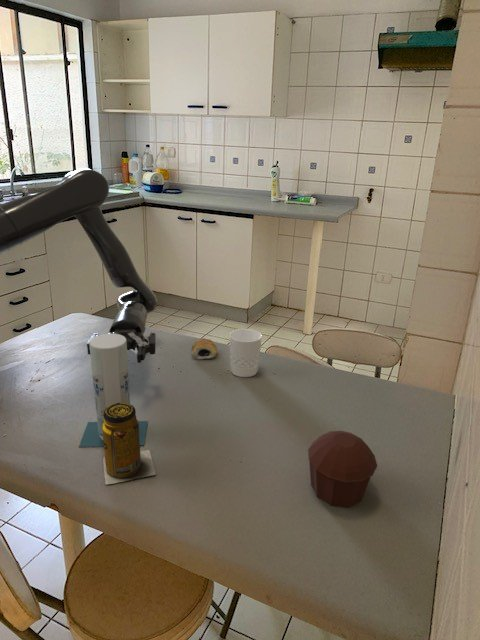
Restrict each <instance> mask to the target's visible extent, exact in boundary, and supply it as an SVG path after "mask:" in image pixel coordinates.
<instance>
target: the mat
mask: <svg viewBox="0 0 480 640" xmlns="http://www.w3.org/2000/svg"><path fill="white" fill-rule="evenodd" d="M138 423H139V439H140V447H144V446H145V441H146V435H147V428H148V423H149V420H138ZM78 448H104V441H103V440H102V439H101V438H100V436H99V432H98V422H97V421H88V422H87V424H86V426H85V428H84V432H83V434H82V437H81V440H80V443H79V445H78Z"/></svg>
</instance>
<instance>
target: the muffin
mask: <svg viewBox="0 0 480 640" xmlns="http://www.w3.org/2000/svg"><path fill="white" fill-rule="evenodd" d="M307 453H308V462H309V463H308V464H309V475H310V486H311V488H312V490H313V492H314V493H315V496H316V498H318V499H320V500H322V501H324V502H325V503H327V505H330V506H332V507H333V506H334V507H342V508H350V507H351V506H353V505H355V504H359V503H361V502H362V500H363V497H364V496H365V492H366V490H367V487H368V485H369V482H370V480H371V477H373V476H374V474H375V472H376V470H377V467H378V464H377V463H378V462H377V460H376V456H375V454H374V452H373V451H372V450H371V448H370V447H369V446H368V444H367V443H366V442H365V441H364V440H363V439H362V438H361V437H360V436H358V435H356V434H354V433H352V432H349V431H346V430H331V431H328V432H326V433H324V434H321V435H320V436H318V437H317V438H316V439H314V440H313V442H312V443H311V444H310V446H309V447H308V448H307Z"/></svg>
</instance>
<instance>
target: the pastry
mask: <svg viewBox="0 0 480 640" xmlns="http://www.w3.org/2000/svg"><path fill="white" fill-rule="evenodd" d="M217 354H218V347H217V345H216V344H215V342H213V340H211V339H209V338H205V337H204V338H202V337H201V338H200V339H197V340H196V341H195V342H194V343H193V345H192V346H191V357H192V358H193V359H194V360H210V359H214V358H215V357H216V356H217Z"/></svg>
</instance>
